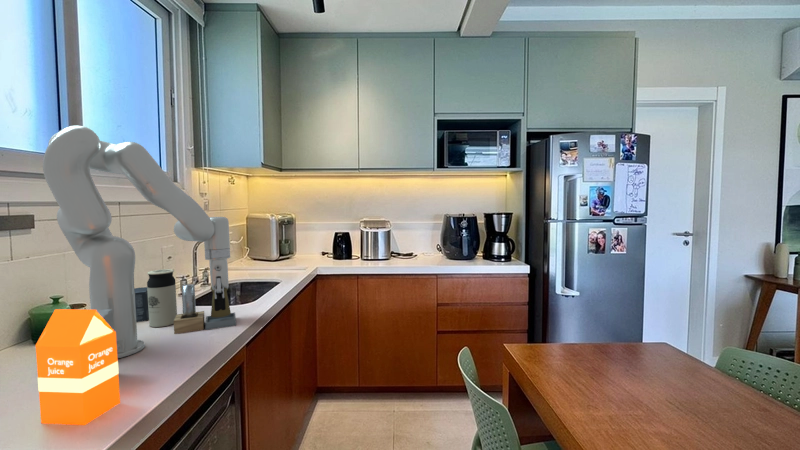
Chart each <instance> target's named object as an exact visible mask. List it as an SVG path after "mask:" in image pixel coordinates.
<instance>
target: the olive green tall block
mask: <svg viewBox="0 0 800 450" xmlns="http://www.w3.org/2000/svg"><path fill="white" fill-rule="evenodd" d="M216 289H217V287H216ZM221 289H223V286H222V287H221ZM228 289H229V288H228ZM228 289H226V288H224V298H225V306H226V309H225V310H221V309H220V310H219V311H215V305H214V299H215V291H214V290H215V289H214V290H213V289H212V285H210V291H211V293H212V299H211V309H210V310H211V311H210V316H211V317H224V316H228V315H230V314H231V313H232V312H231V308H230V303H229V302H230V301H229V297H228V292H227V291H228ZM216 292H217V291H216ZM222 298H223V297H222Z"/></svg>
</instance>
